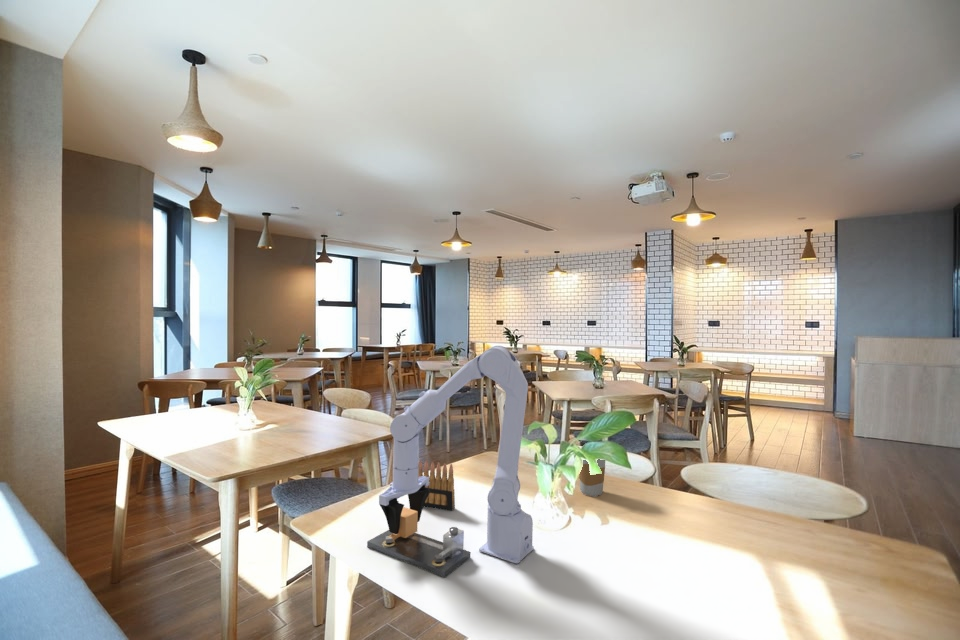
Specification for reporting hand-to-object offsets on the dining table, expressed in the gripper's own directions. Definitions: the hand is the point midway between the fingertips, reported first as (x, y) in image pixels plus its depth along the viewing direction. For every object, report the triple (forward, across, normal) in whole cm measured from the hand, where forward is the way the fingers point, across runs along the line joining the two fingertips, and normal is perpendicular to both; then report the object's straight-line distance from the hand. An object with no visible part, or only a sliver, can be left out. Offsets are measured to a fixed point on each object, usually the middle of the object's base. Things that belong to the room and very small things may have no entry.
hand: (404, 526), depth 103 cm
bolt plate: (+3, +2, +6) cm, 7 cm away
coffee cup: (+3, -52, +26) cm, 58 cm away
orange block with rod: (+1, +2, 0) cm, 2 cm away
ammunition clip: (+3, -18, -6) cm, 19 cm away
